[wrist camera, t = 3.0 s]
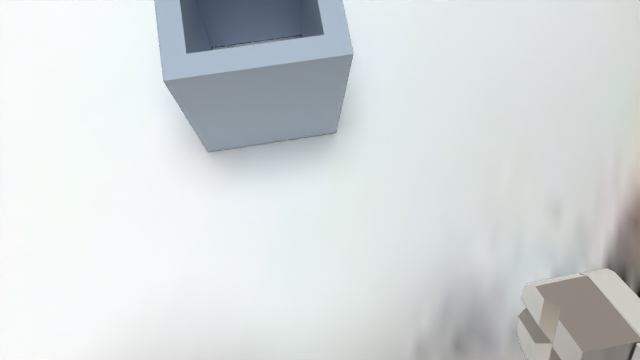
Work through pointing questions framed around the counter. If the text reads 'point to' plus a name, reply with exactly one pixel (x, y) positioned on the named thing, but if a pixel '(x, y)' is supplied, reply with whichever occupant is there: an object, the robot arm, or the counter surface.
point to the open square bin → (255, 67)
